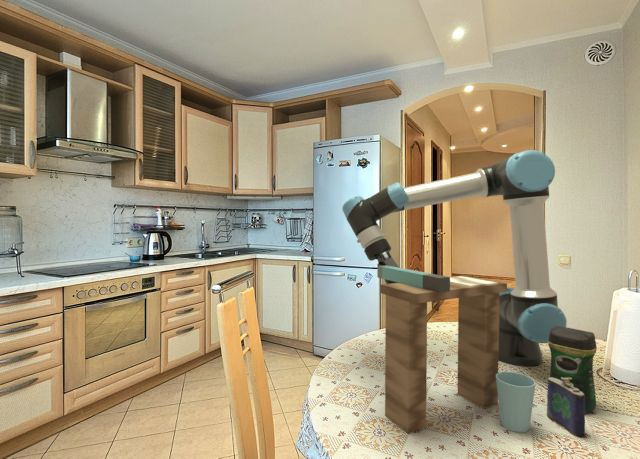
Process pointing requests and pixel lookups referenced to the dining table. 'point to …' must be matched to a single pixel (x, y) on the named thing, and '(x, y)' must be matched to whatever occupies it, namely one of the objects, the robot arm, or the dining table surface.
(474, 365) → the shelf
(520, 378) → the cup
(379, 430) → the dining table surface
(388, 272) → the teal bar
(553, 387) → the flask
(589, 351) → the coffee jar
